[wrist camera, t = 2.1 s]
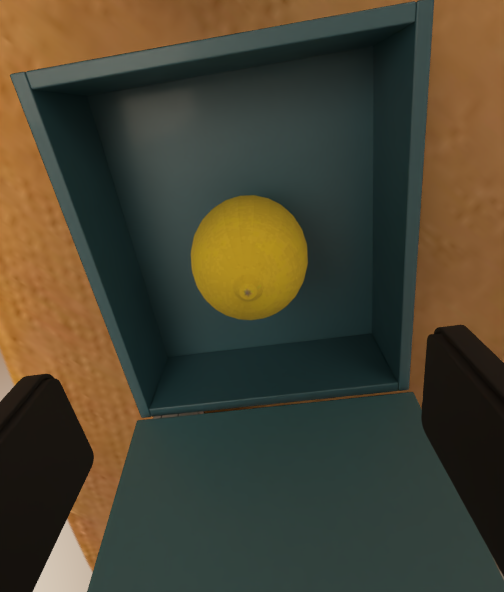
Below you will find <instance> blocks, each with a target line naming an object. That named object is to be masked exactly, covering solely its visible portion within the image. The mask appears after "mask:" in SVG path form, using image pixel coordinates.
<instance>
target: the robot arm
mask: <svg viewBox="0 0 504 592" xmlns="http://www.w3.org/2000/svg"><path fill="white" fill-rule="evenodd" d="M421 421H422V426H423V429H424V432H425V434H426V436H427V438H428V439H429V441H430V443H431V445H432V447H433V449H434V450H435V452H436V454H437V456H438V458H439V460H440V461H441V463H442V465H443V467H444V469H445V470H446V472H447V474H448V476H449V478H450V480H451V481H452V483H453V485H454V487H455V489H456V491H457V492H458V494H459V496H460V498H461V500H462V502H463V503H464V505H465V507H466V509H467V511H468V513H469V514H470V516H471V518H472V520H473V522H474V523H475V525H476V527H477V529H478V531H479V533H480V534H481V536H482V538H483V540H484V542H485V544H486V545H487V547H488V549H489V551H490V553H491V555H492V556H493V558H494V560H495V562H496V564H497V565H498V567H499V569H500V571H501V573H502V574H503V576H504V363H503V362H502V361H501V360H500V359H499V358H498V357H497V356H496V355H495V354H494V353H493V352H492V351H491V350H490V349H489V348H488V347H487V346H486V345H484V344H483V343H482V342H481V341H480V340H479V339H478V338H477V337H476V336H475V335H474V334H473V333H472V332H471V331H470V330H469V329H468V328H467V327H466V326H464V325H455V326H447V327H439V328H437V329H436V330H435V332H434V334H431V335H429V336H428V339H427V349H426V362H425V375H424V388H423V402H422V415H421ZM93 459H94V455H93V451H92V448H91V446H90V444H89V442H88V440H87V438H86V436H85V434H84V432H83V429H82V427H81V425H80V423H79V421H78V419H77V417H76V415H75V413H74V410H73V408H72V406H71V404H70V402H69V400H68V398H67V396H66V394H65V391H64V389H63V387H62V385H61V383H60V382H59V380H57V379H54V378H53V376H51V375H50V374H41V375H33V376H26V377H23V378H22V379H21V380H20V381H19V382H18V383H17V384H16V385H15V386H14V387H13V388H12V389H11V391H10V392H9V393H8V394H7V395H6V396H5V397H4V398H3V399H2V401H1V402H0V592H33V590H34V587H35V585H36V583H37V581H38V579H39V577H40V575H41V572H42V571H43V568H44V566H45V564H46V562H47V560H48V558H49V556H50V554H51V551H52V549H53V547H54V545H55V543H56V541H57V539H58V537H59V535H60V532H61V530H62V528H63V526H64V524H65V522H66V520H67V518H68V516H69V514H70V511H71V509H72V507H73V505H74V503H75V501H76V499H77V497H78V495H79V492H80V490H81V488H82V486H83V484H84V482H85V480H86V478H87V476H88V473H89V471H90V469H91V467H92V464H93Z"/></svg>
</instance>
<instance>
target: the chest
mask: <svg viewBox="0 0 504 592" xmlns="http://www.w3.org/2000/svg"><path fill="white" fill-rule="evenodd" d="M433 10H434V0H419V1H417V2H414V1H413V2H408V3H402V4H396V5H391V6H385V7H380V8H374V9H369V10H363V11H358V12H352V13H347V14H341V15H336V16H330V17H324V18H319V19H313V20H308V21H302V22H297V23H291V24H286V25H280V26H275V27H269V28H264V29H258V30H252V31H247V32H241V33H236V34H230V35H225V36H219V37H214V38H208V39H203V40H197V41H192V42H186V43H181V44H175V45H169V46H164V47H158V48H153V49H147V50H142V51H136V52H131V53H125V54H120V55H114V56H109V57H103V58H97V59H92V60H86V61H81V62H75V63H70V64H64V65H59V66H53V67H48V68H42V69H37V70H31V71H27V72H19V73H14V74H11V75H10V77H11V79H12V82H13V85H14V87H15V90H16V92H17V95H18V98H19V100H20V103H21V105H22V108H23V111H24V113H25V116H26V118H27V121H28V124H29V126H30V129H31V131H32V134H33V137H34V139H35V142H36V144H37V147H38V150H39V152H40V155H41V157H42V160H43V163H44V165H45V168H46V170H47V173H48V176H49V178H50V181H51V183H52V186H53V189H54V191H55V194H56V196H57V199H58V202H59V204H60V207H61V209H62V212H63V215H64V217H65V220H66V223H67V225H68V228H69V230H70V233H71V236H72V238H73V241H74V243H75V246H76V249H77V251H78V254H79V256H80V259H81V262H82V264H83V267H84V269H85V272H86V275H87V277H88V280H89V282H90V285H91V288H92V290H93V293H94V295H95V298H96V301H97V303H98V306H99V308H100V311H101V314H102V316H103V319H104V321H105V324H106V327H107V329H108V332H109V334H110V337H111V340H112V342H113V345H114V347H115V350H116V353H117V355H118V358H119V360H120V363H121V366H122V368H123V371H124V373H125V376H126V379H127V381H128V384H129V386H130V389H131V392H132V394H133V397H134V399H135V402H136V405H137V407H138V410H139V412H140V415H141V417H142V418H145V417H151V416H152V417H153V416H163V415H172V414H182V413H192V412H201V411H211V410H220V409H230V408H239V407H249V406H258V405H268V404H277V403H287V402H297V401H306V400H316V399H325V398H335V397H344V396H354V395H363V394H373V393H383V392H392V391H398V390H399V391H402V390H409V380H410V364H411V349H412V334H413V318H414V303H415V287H416V272H417V256H418V241H419V226H420V210H421V195H422V179H423V164H424V149H425V133H426V118H427V102H428V87H429V72H430V56H431V41H432V25H433ZM246 195H256V196H260V197H265V198H269V199H271V200H273V201H275V202H277V203H279V204H281V205H282V206H283V207H284V208H285V209H287V210H288V211H289V212H290V213H291V214H292V215H293V216H294V218H295V219H296V221H297V222H298V224H299V225H300V227H301V229H302V231H303V234H304V237H305V240H306V243H307V256H308V264H307V269H306V274H305V278H304V281H303V284H302V285H301V287H300V289H299V291H298V293H297V295H296V296H295V298H294V299H293V300H292V301H291V302H290V303H289V304H288V305H287V306H286V307H285V308H283V309H282V310H281V311H279V312H278V313H276V314H274V315H271V316H269V317H266V318H263V319H256V320H241V319H236V318H233V317H229V316H226V315H224V314H223V313H221V312H219V311H217V310H216V309H215V308H213V307H212V306H211V305H210V304H209V303H208V302H207V301H206V300H205V299H204V297H203V296H202V294H201V292H200V291H199V289H198V288H197V285H196V282H195V279H194V276H193V273H192V266H191V248H192V244H193V239H194V235H195V233H196V231H197V229H198V227H199V225H200V223H201V221H202V220H203V219H204V217H205V216H206V215H207V214H208V213H209V212H210V211H211V210H212V209H213V208H214V207H216V206H217V205H219V204H221V203H222V202H224V201H225V200H228V199H231V198H234V197H238V196H246Z"/></svg>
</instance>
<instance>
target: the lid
mask: <svg viewBox="0 0 504 592" xmlns="http://www.w3.org/2000/svg"><path fill="white" fill-rule="evenodd" d="M421 415H422V409H421V407H420V405H419V403H418V401H417V399H416V397H415V395H414V393H413V392H406V393H397V394H387V395H378V396H368V397H359V398H349V399H339V400H330V401H320V402H311V403H301V404H291V405H282V406H272V407H263V408H253V409H243V410H234V411H224V412H215V413H205V414H195V415H186V416H176V417H167V418H157V419H147V420H138V421H137V423H136V426H135V430H134V433H133V437H132V440H131V444H130V447H129V450H128V454H127V457H126V461H125V464H124V467H123V471H122V474H121V478H120V481H119V485H118V488H117V491H116V495H115V498H114V502H113V505H112V509H111V512H110V515H109V519H108V522H107V526H106V529H105V533H104V536H103V539H102V543H101V546H100V550H99V553H98V557H97V560H96V563H95V567H94V570H93V574H92V577H91V581H90V584H89V588H88V591H87V592H504V579H503V577H502V575H501V573H500V571H499V569H498V567H497V565H496V563H495V561H494V559H493V557H492V555H491V553H490V551H489V549H488V547H487V545H486V544H485V542H484V540H483V538H482V536H481V534H480V533H479V531H478V529H477V527H476V525H475V523H474V522H473V520H472V518H471V516H470V514H469V513H468V511H467V509H466V507H465V505H464V503H463V502H462V500H461V498H460V496H459V494H458V492H457V491H456V489H455V487H454V485H453V483H452V481H451V480H450V478H449V476H448V474H447V472H446V470H445V469H444V467H443V465H442V463H441V461H440V460H439V458H438V456H437V454H436V452H435V450H434V449H433V447H432V445H431V443H430V441H429V439H428V438H427V436H426V434H425V432H424V429H423V426H422V421H421Z"/></svg>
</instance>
